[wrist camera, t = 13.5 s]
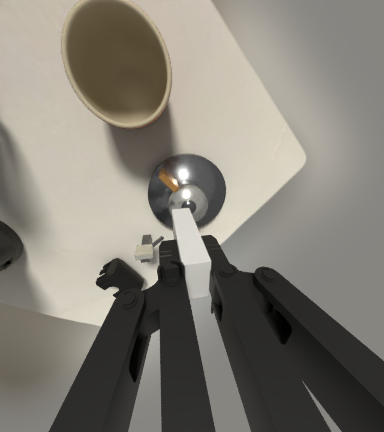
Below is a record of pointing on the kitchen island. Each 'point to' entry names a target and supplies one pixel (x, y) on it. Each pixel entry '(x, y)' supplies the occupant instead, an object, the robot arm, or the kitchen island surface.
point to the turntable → (180, 171)
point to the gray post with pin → (146, 248)
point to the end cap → (119, 277)
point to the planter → (116, 62)
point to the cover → (189, 199)
